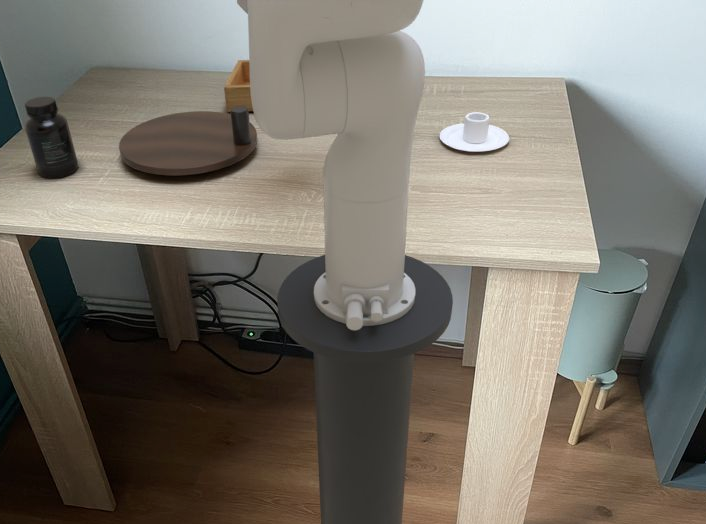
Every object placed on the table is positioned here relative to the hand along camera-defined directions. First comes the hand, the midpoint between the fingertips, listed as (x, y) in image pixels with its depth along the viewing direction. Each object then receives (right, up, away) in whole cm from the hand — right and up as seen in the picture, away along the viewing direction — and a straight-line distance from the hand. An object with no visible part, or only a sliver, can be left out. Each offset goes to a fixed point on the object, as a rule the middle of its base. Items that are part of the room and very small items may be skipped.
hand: (296, 54), depth 107 cm
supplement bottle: (-41, -13, +19) cm, 47 cm away
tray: (+2, +7, +39) cm, 40 cm away
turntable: (-19, -7, +21) cm, 29 cm away
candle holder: (+31, -7, +21) cm, 38 cm away
